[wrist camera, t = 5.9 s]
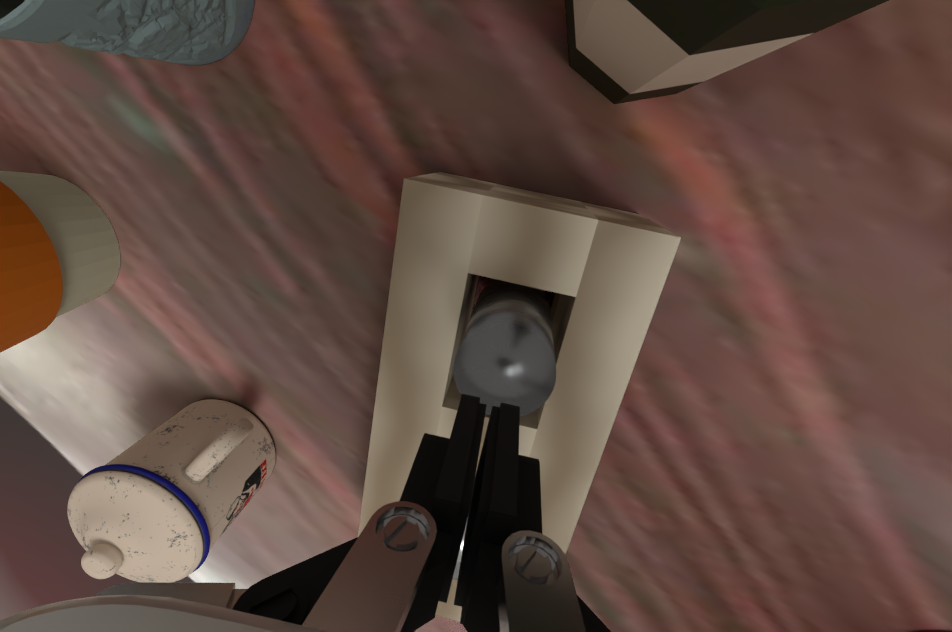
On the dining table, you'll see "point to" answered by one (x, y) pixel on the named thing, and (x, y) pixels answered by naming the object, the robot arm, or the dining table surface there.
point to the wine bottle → (685, 38)
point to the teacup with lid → (171, 493)
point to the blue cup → (133, 26)
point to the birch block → (572, 316)
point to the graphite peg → (508, 348)
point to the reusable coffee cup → (49, 252)
